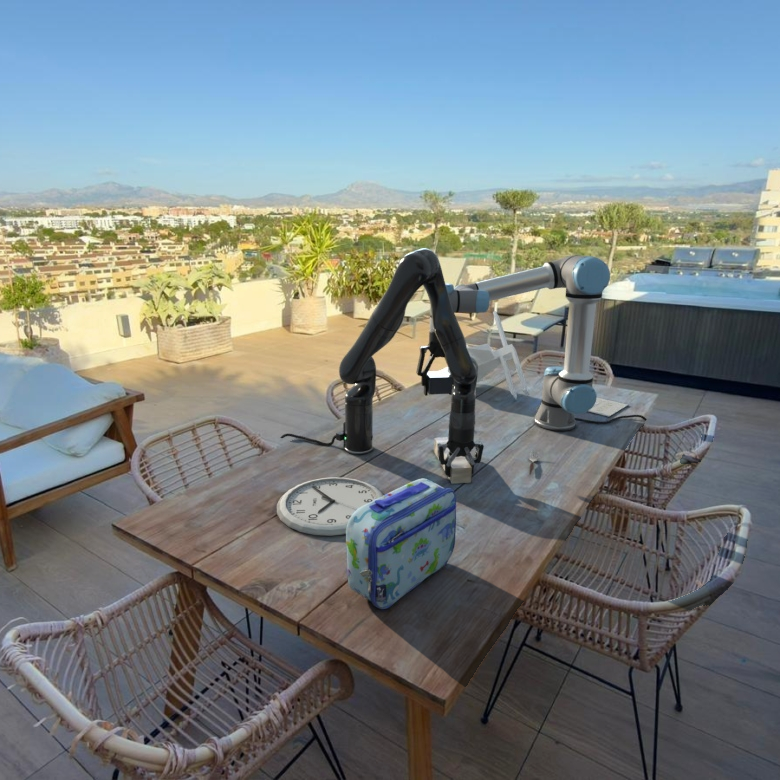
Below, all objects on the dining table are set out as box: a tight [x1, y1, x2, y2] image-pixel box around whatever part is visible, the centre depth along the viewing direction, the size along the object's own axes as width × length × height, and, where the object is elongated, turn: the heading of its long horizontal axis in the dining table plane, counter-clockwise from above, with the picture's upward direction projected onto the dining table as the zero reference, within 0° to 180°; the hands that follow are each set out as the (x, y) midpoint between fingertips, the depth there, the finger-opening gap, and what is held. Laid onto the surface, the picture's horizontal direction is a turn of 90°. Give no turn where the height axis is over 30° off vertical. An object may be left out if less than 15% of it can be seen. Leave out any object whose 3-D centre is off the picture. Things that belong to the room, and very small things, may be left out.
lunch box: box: [345, 477, 457, 610], centre depth 110 cm, size 26×11×21 cm, turn 134°
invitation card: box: [587, 397, 629, 418], centre depth 226 cm, size 21×1×15 cm
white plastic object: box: [438, 310, 531, 400], centre depth 245 cm, size 37×45×31 cm
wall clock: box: [276, 476, 385, 537], centre depth 142 cm, size 30×2×30 cm
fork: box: [529, 450, 539, 475], centre depth 168 cm, size 3×16×2 cm, turn 160°
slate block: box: [426, 370, 453, 395], centre depth 182 cm, size 8×8×6 cm
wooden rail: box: [433, 436, 472, 485], centre depth 167 cm, size 24×6×5 cm, turn 8°
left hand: (458, 475), depth 159 cm, fingers closed on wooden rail, 6 cm apart
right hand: (437, 394), depth 184 cm, fingers closed on slate block, 8 cm apart
